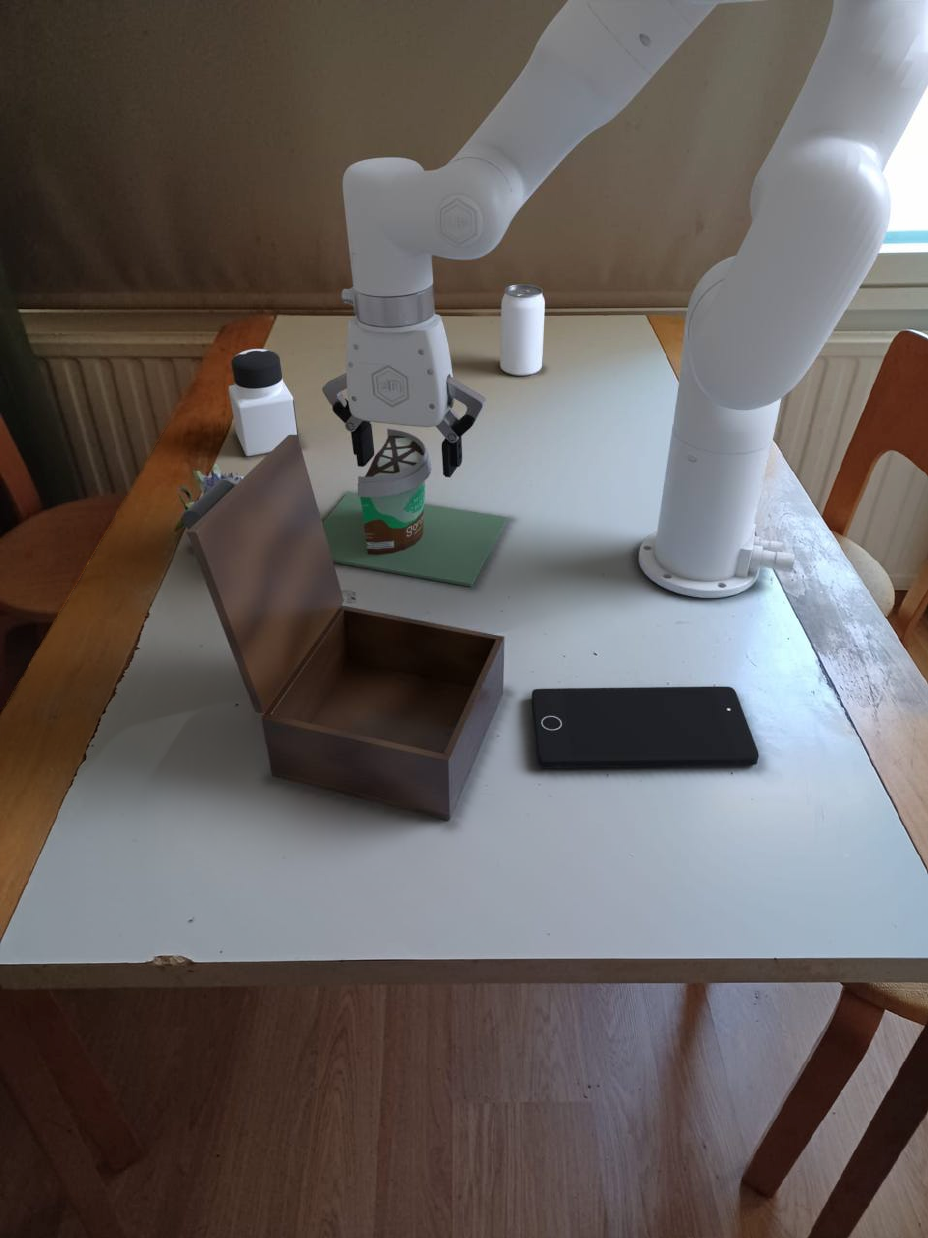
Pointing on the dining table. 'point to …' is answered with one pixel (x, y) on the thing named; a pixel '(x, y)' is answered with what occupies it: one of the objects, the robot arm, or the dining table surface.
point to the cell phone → (641, 727)
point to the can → (522, 330)
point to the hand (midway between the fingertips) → (408, 466)
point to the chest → (387, 710)
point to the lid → (266, 567)
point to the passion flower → (205, 486)
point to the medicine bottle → (261, 402)
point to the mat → (418, 543)
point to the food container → (395, 494)
